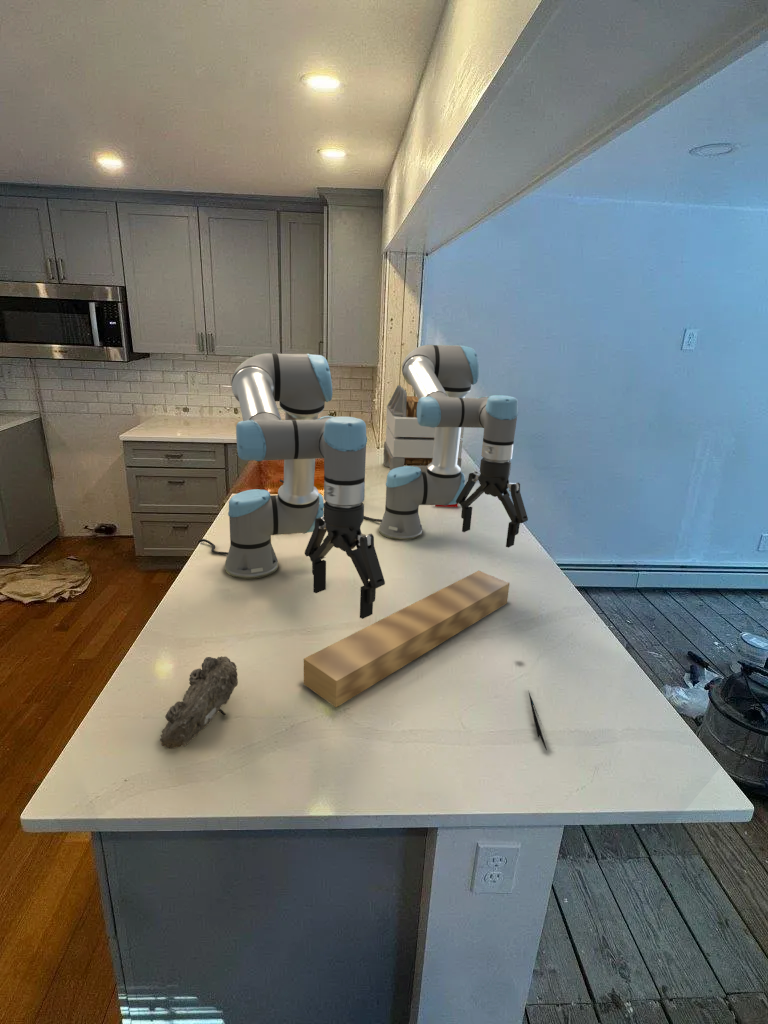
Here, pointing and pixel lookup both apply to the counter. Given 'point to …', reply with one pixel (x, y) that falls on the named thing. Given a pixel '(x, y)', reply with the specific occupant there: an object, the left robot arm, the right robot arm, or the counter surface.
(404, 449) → the transformer
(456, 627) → the thick board
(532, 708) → the feather
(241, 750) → the counter surface
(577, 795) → the counter surface
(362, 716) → the counter surface
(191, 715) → the fossil
